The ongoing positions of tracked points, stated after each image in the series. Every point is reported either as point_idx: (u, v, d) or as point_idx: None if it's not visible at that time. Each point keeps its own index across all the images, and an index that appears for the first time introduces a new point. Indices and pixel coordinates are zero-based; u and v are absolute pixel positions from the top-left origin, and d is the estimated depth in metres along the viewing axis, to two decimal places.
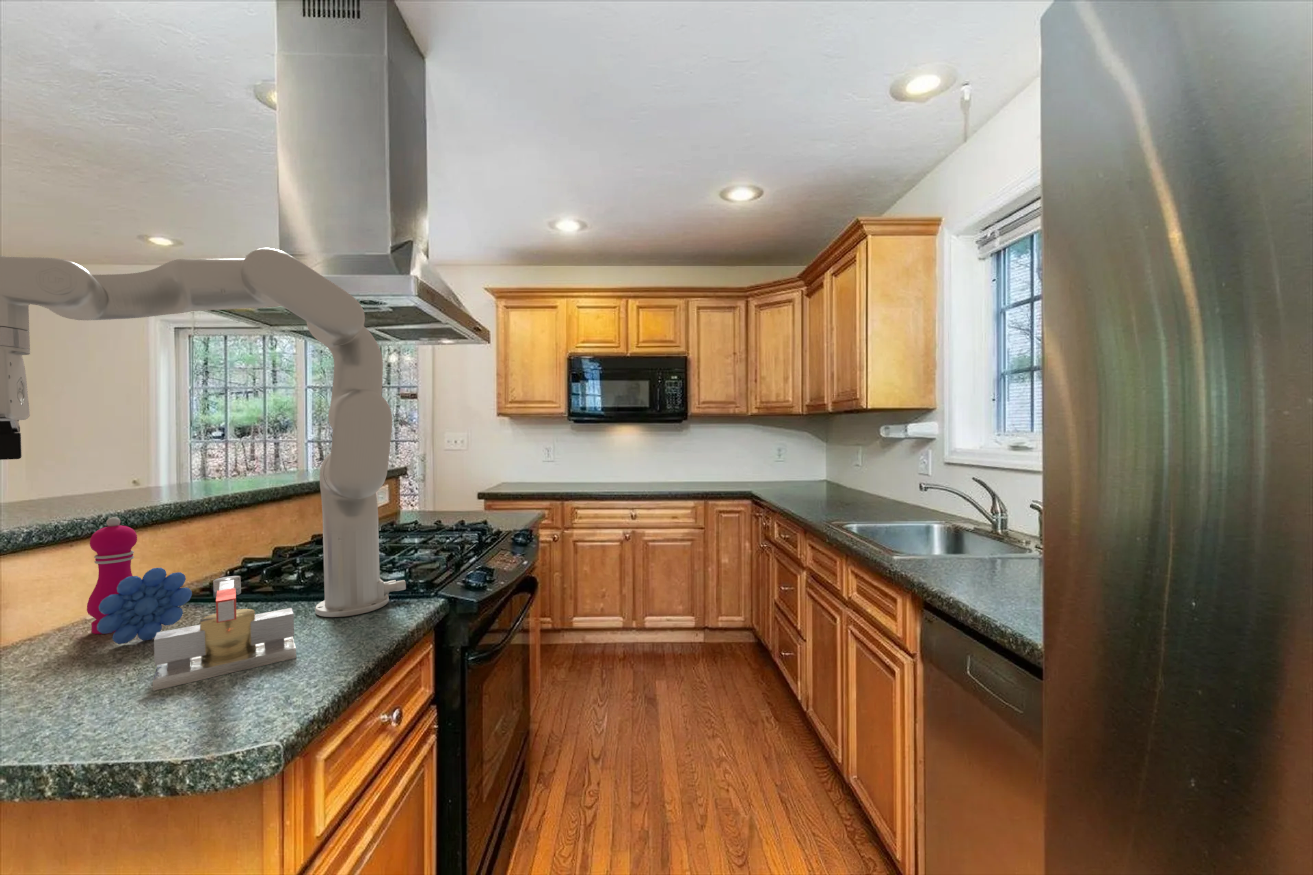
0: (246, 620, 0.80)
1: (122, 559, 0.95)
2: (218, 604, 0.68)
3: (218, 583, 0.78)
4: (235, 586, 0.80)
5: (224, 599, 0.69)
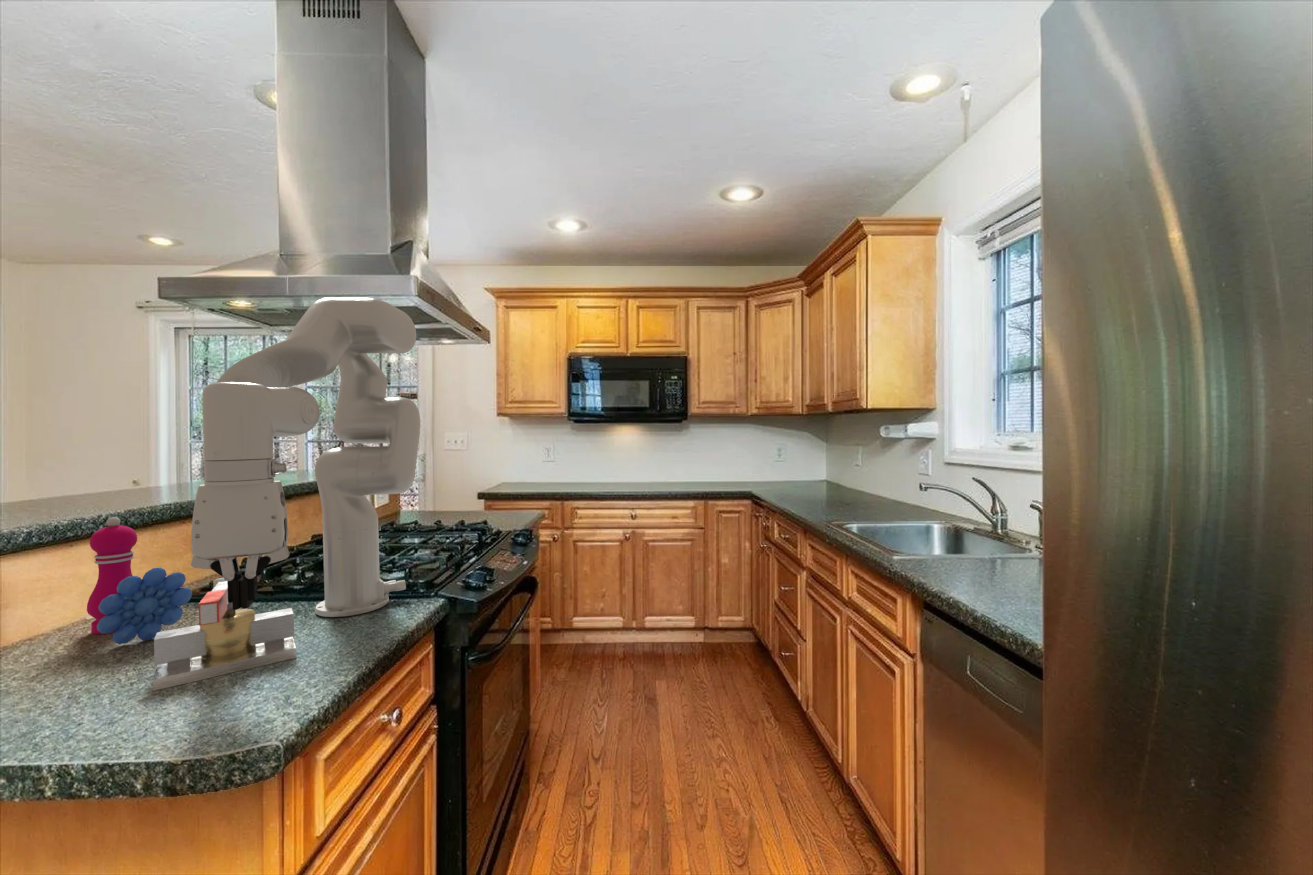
0: (246, 620, 0.80)
1: (122, 559, 0.95)
2: (200, 606, 0.68)
3: (217, 583, 0.79)
4: None
5: (207, 602, 0.68)
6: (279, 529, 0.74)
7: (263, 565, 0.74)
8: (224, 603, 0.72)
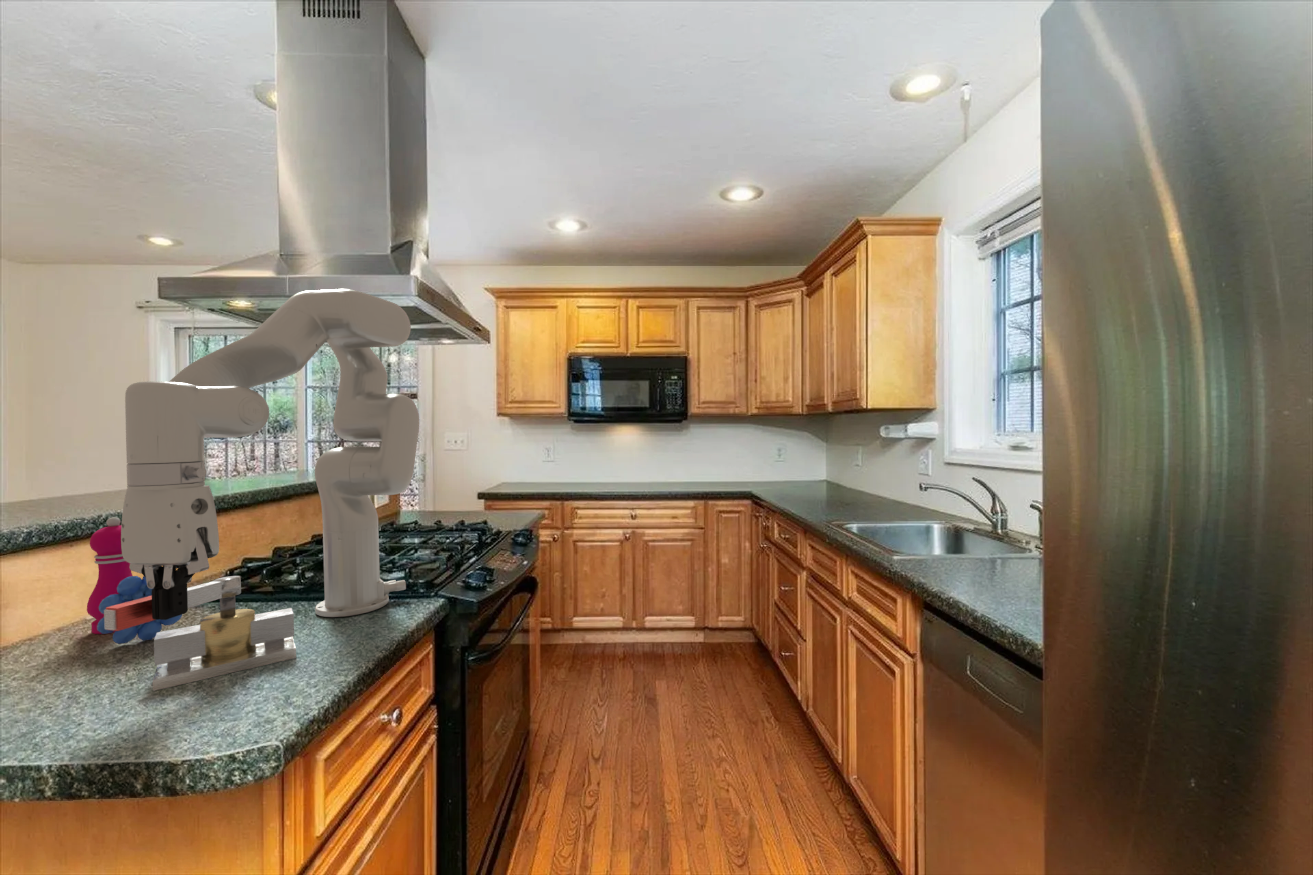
0: (246, 620, 0.80)
1: (122, 559, 0.95)
2: (105, 611, 0.67)
3: None
4: (223, 588, 0.79)
5: (114, 607, 0.67)
6: (185, 540, 0.67)
7: (179, 576, 0.69)
8: None
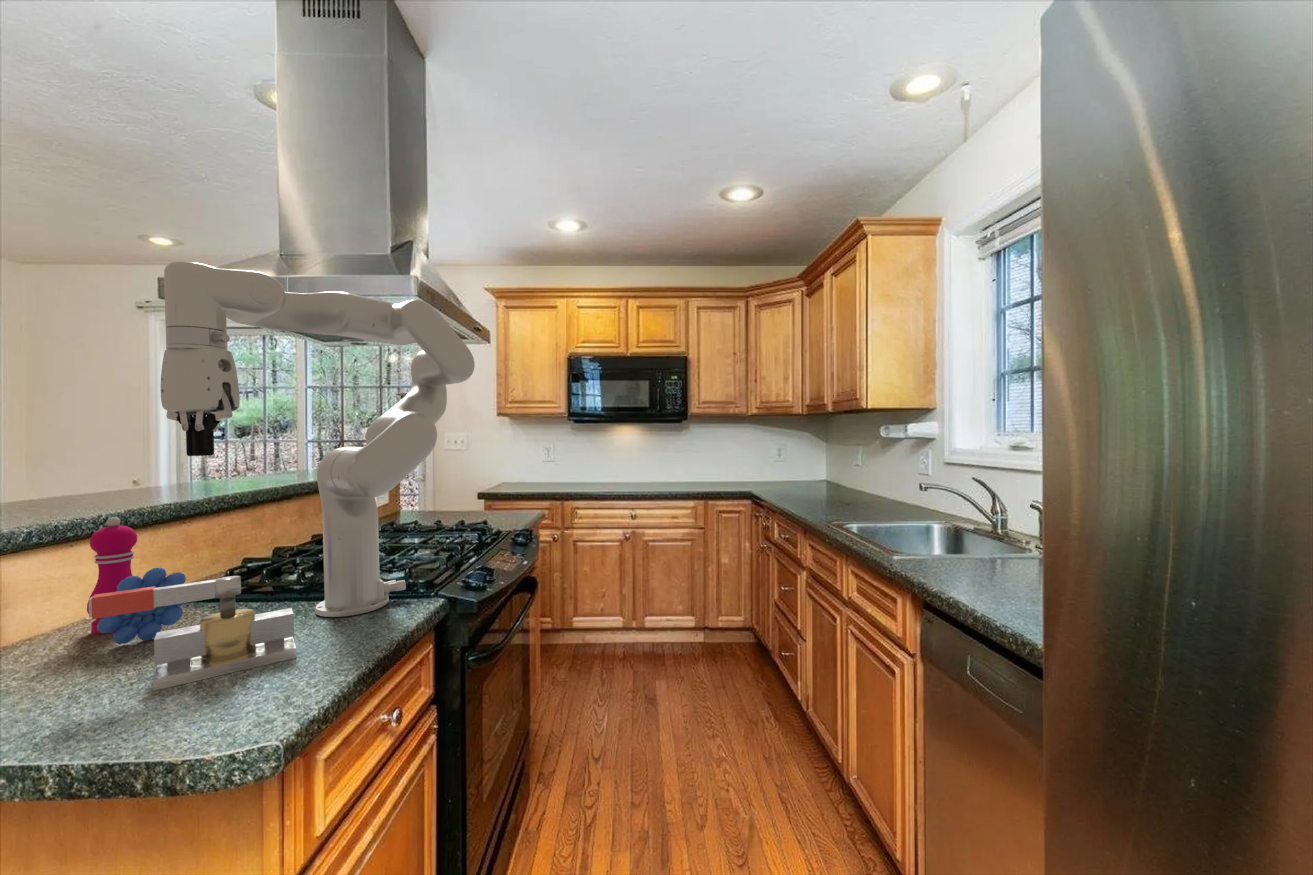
0: (246, 620, 0.80)
1: (122, 559, 0.95)
2: None
3: None
4: (215, 589, 0.79)
5: (97, 595, 0.72)
6: (213, 389, 0.84)
7: (209, 421, 0.85)
8: (134, 602, 0.73)
